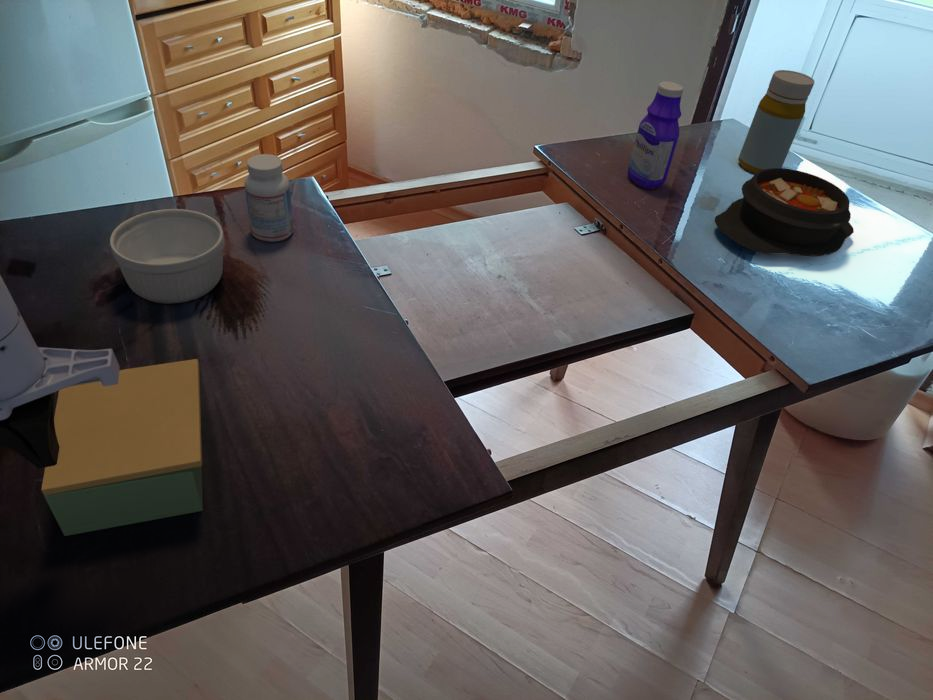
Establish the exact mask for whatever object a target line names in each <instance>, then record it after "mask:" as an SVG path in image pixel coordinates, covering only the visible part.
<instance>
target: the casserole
mask: <svg viewBox="0 0 933 700" xmlns="http://www.w3.org/2000/svg"><path fill="white" fill-rule="evenodd" d="M741 193H742V196H743V197H742V198H739V199H737V200H735V201H733V202H732V203H730V205H729V206H728V207H727V208H726V209H725V210H724V211H722V212H721V213H719V214H717V215H716V216H715V217H714V223H715V225H716V227H717V228H718V229H719V230H720V231H721V232H722V233H723V234H724V235H725V236H726V237H727V238H728V239H730V240H732V241H733V242H735V243H737V244H738V245H740V246H742V247H744V248H747V249H748V250H751V251H753V252H756V253H758V254H763V255H764V254H765V255H793V256H802V257H822V256H828V255H829V256H830V255H832V254H834V253H837V252H838V251H839V250H840V249H842V247H843V245H844V244H845V241H846V239H848V238H849V237H850V236H852V235H853V234H854V227H853V225H852V224H851V223H850V221H851V218H852V217H851V216H852V215H851V211H850V199H849V197H848V195H847V194H846V193H845V191H843V190H842V189H841V188H840V187H839V186H837V185H835V184H834V183H832V182H830V181H828V180H827V179H824V178H822V177H819V176H818V175H814V174H811V173H809V172H804V171H801V170H796V169H791V168H771V169H764V170H761V171H759V172H757V173H756V174H753V176H752V177H751V178H750V179H748V180H746V181H745V182H744V183H743V184H742V185H741Z"/></svg>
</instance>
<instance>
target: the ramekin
mask: <svg viewBox="0 0 933 700" xmlns="http://www.w3.org/2000/svg"><path fill="white" fill-rule="evenodd" d="M224 234H225V233H224V230H223V227H222V226H221V224H220V223H219V222H218V221H217V220H216V219H214V218H213V217H212V216H209V215H207V214H205V213H203V212H200V211H195V210H191V209H184V208H183V209H182V208H164V209H156V210H151V211H147V212H143V213H140V214H137V215H135V216H132V217H130V218H128V219H126V220H124V221H122V222H121V223H120V224H118V225H117V226H116V227H115V228H114V230H113V231H112V233H111V234H110V238H109V246H110V250H111V254H112V257H113V258H114V259H115V260H116V262H117V264H118V266H119V269H120V272H121V273H122V275H123V278H124V280H125V282H126V283H127V285H128V288H129V289H131V291H132V292H133V293H135V294H136V295H137V296H139V297H141V298H143V299H145V300H147V301H149V302H153V303H156V304H157V303H158V304H168V305H169V304H170V305H171V304H181V303H182V304H183V303H186V302H187V303H188V302H192V301H194V300H197V299H200V298H201V297H203V296H205V295H207V294H209V293H210V292H211V291H212V290H213V289H214V288H215V287H217V284H219V282H220V281H221V278H222V275H223V269H224V247H225V235H224Z"/></svg>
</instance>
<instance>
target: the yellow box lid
mask: <svg viewBox="0 0 933 700" xmlns="http://www.w3.org/2000/svg"><path fill="white" fill-rule="evenodd" d="M200 377H201V376H200V362H199V359H198V358H192V359H186V360H179V361H173V362H165V363H159V364H158V363H157V364H153V365H145V366H139V367H132V368H131V367H130V368H126V369H124V368H123V369H119V380H118V384H116V385H110V386H103V385H102V383H101V381H99V382H93V383H87V384H81V385H75V386H69V387H67V388H64V389H61V390H59V391H58V395H57V400H56V404H55V405H56V406H55V409H54V424H55V431H56V436H57V440H58V444H59V447H60V448H59V454H58V460H57V464H56V465H55V466H50V467H44V472H43V477H42V484H41V493H42V494H43V496H44V495H50V494H55V493H61V492H66V491H71V490H77V489H82V488H88V487H93V486H98V485H104V484H109V483H114V482H120V481H125V480H131V479H136V478H141V477H147V476H152V475H157V474H163V473H168V472H174V471H179V470H184V469H190V468H195V467H200V466H203V443H202V413H201V412H202V410H201V409H202V408H201V379H200Z"/></svg>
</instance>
